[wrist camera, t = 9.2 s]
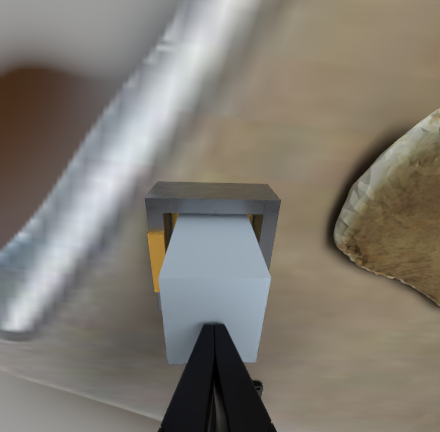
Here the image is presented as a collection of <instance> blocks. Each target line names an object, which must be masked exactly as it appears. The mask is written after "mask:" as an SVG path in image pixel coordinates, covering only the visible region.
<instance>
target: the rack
mask: <svg viewBox="0 0 440 432" xmlns="http://www.w3.org/2000/svg"><path fill="white" fill-rule="evenodd" d="M280 202H281V200H280V199H279V198H278V196H277V195H276V194H275V193H274V192H273V190H272V189H271V188H270V187H269V186H268V184H236V183H193V182H157V183H156V184H155V186H154V187H153V188H152V189H151V191H150V192H149V193H148V195H147V196H146V197H145V203H146V211H147V219H148V227H149V232H148V234H147V237H148V245H149V253H150V260H151V268H152V276H153V284H154V291H155V292H157V300H158V308H159V311H162V307H161V298H160V289H159V279H158V278H159V274H160V271H161V268H162V265H163V262H164V259H165V255H166V252H167V249H168V246H169V243H170V240H171V236H172V233H173V230H174V227H175V224H176V221H177V217H178V214H179V213H202V214H247V215H248V218H249V220H250V223H251V226H252V228H253V231H254V234H255V236H256V239H257V242H258V244H259V247H260V250H261V252H262V255H263V258H264V260H265V263H266V266H267V268H268V271H269V267H270V261H271V255H272V249H273V243H274V238H275V232H276V226H277V220H278V214H279V208H280Z"/></svg>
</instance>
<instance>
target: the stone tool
mask: <svg viewBox="0 0 440 432" xmlns="http://www.w3.org/2000/svg"><path fill="white" fill-rule="evenodd" d="M334 241H335V244H336V246H337V247H338V248H339V249H340V250H342V251H343V253H344V254H346V255H348V256H349V257H350V260H351V261H353V262H355V263H356V264H357V265H358V266H359V267H362V268H364V269H366V270H367V271H369V272H372V273H374V274H375V275H383V276H385V277H386V278H391V279H393V278H396V279H398V280H400V282H402V283H404V284H408V285H410V286H412V287H413V288H414V289H417V290H418V291H419V292H422V293H423V294H425V295H426V296H427V297H429V298H430V299H432V300H433V301H434V302H435V303H436V304H437V305H438V306H440V108H439V109H437V110H436V111H434V112H433V113H431V114H430V115H428V116H427V117H425V118H424V119H422V120H421V121H419V122H418V123H417V125H416V126H414V127H413V128H412V129H411V130H409V131H408V132H407V133H406V134H405V135H404V136H402V137H401V138H399V139H398V140H397V141H396V142H394V143H393V144H392V145H391V146H390V147H389V148H388V149H387V150H385V151H384V152H383V153H382V154H381V155H380V156H379V157H378V158H377V159H376V161H375V162H374V163H373V164H372V165H371V166H370V167H369V169H368V170H367V171H366V172H365V173H364V174H363V175H362V176H361V177H360V178H359V179H358V180H357V181H356V182H355V183H354V184H353V186H352V187H351V189H350V191H349V194H348V197H347V199H346V201H345V203H344V205H343V207H342V210H341V212H340V215H339V217H338V220H337V222H336V225H335V230H334Z"/></svg>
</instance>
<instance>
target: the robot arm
mask: <svg viewBox="0 0 440 432" xmlns="http://www.w3.org/2000/svg"><path fill="white" fill-rule="evenodd" d="M262 391H263V386H262V383H261V382H252V379H251V377H250V375H249V373H248V371H247V369H246V367H245V365H244V363H243V361H242V359H241V357H240V355H239V353H238V350H237V348H236V346H235V344H234V342H233V340H232V338H231V336H230V334H229V332H228V330H227V328H226V326H225V324H223V323H216V324H212V323H207V324H204V325H203V326H202V329H201V331H200V333H199V336H198V338H197V340H196V343H195V345H194V348H193V350H192V352H191V355H190V357H189V359H188V362H187V364H186V366H185V369H184V371H183V374H182V376H181V378H180V381H179V383H178V385H177V388H176V390H175V392H174V395H173V397H172V400H171V402H170V404H169V407H168V409H167V411H166V414H165V416H164V419H163V421H162V424H161V428H159V430H158V432H277V431H276V429H275V427H274V425H273V423H271V419H270V417H269V415H268V413H267V410H266V408H265V406H264V404H263V402H262V400H261V395H262Z"/></svg>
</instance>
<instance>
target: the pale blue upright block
mask: <svg viewBox="0 0 440 432" xmlns="http://www.w3.org/2000/svg"><path fill="white" fill-rule="evenodd" d="M158 279H159V289H160V298H161V307H162V316H163V325H164V334H165V343H166V353H167V362H168V364H187V362H188V359H189V357H190V355H191V352H192V350H193V348H194V345H195V343H196V340H197V338H198V336H199V333H200V331H201V329H202V326H203V325H204V324H207V323H212V324H216V323H223V324H225V326H226V328H227V330H228V332H229V334H230V336H231V338H232V340H233V342H234V344H235V346H236V348H237V350H238V353H239V355H240V357H241V359H242V361H243V363H249V362H256V357H257V352H258V347H259V341H260V336H261V330H262V325H263V320H264V314H265V309H266V303H267V298H268V293H269V287H270V282H271V276H270V274H269V271H268V268H267V266H266V263H265V260H264V258H263V255H262V252H261V250H260V247H259V244H258V242H257V239H256V236H255V234H254V231H253V228H252V226H251V223H250V220H249V218H248V215H247V214H202V213H179V214H178V217H177V221H176V224H175V227H174V230H173V233H172V236H171V240H170V243H169V246H168V249H167V252H166V255H165V259H164V262H163V265H162V268H161V271H160V274H159V278H158Z"/></svg>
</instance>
